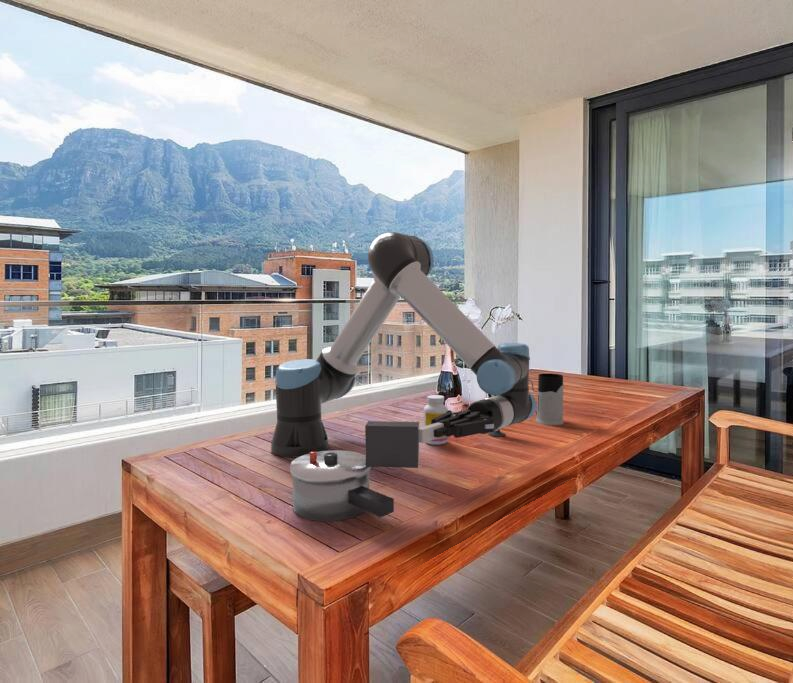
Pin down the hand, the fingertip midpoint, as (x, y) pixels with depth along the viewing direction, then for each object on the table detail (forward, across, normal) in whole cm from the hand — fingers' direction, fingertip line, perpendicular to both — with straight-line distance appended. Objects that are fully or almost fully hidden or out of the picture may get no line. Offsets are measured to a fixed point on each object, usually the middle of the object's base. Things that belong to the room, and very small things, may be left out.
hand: (419, 435), depth 100 cm
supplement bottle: (-33, +24, -14) cm, 43 cm away
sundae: (-51, +16, -14) cm, 55 cm away
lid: (+10, +8, -6) cm, 14 cm away
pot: (+13, +9, -13) cm, 21 cm away
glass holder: (-74, +15, -14) cm, 77 cm away
